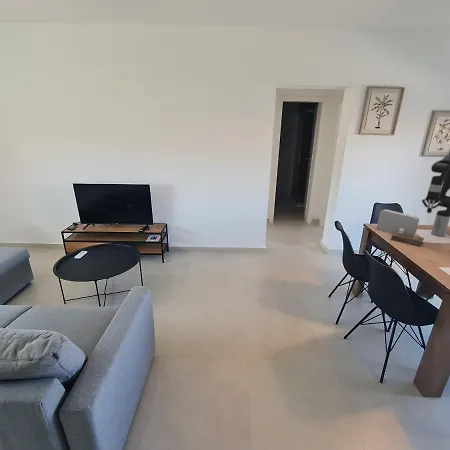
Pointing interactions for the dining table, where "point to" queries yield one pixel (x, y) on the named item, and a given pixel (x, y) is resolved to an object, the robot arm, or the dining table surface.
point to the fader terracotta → (416, 236)
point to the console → (407, 239)
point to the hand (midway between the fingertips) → (428, 212)
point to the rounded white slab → (397, 222)
